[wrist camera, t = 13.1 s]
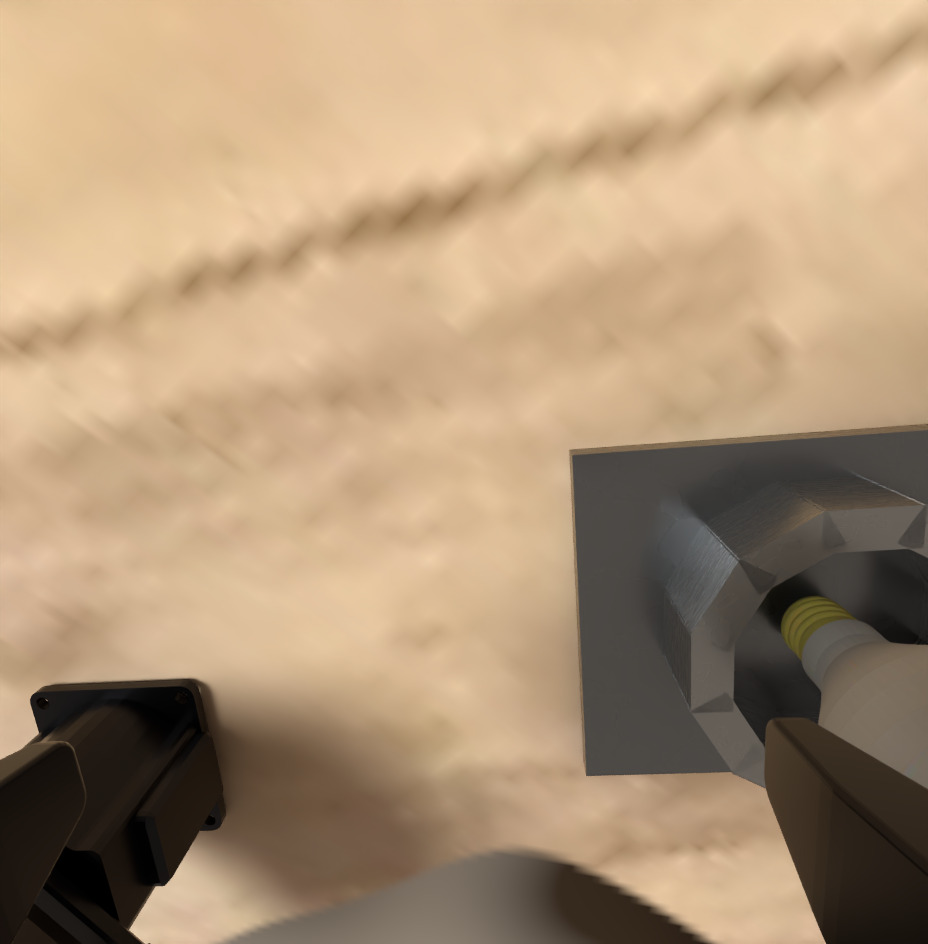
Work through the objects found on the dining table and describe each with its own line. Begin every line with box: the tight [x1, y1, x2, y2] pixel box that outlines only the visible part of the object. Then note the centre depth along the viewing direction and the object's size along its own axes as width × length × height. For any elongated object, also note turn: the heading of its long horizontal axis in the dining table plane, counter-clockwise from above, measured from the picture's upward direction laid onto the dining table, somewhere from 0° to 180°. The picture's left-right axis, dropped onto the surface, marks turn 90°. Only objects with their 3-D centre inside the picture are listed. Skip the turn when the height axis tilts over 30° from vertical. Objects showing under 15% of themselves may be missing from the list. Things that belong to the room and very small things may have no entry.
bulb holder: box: [569, 424, 928, 788], centre depth 19 cm, size 13×12×4 cm
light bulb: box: [781, 596, 928, 789], centre depth 15 cm, size 5×5×10 cm
